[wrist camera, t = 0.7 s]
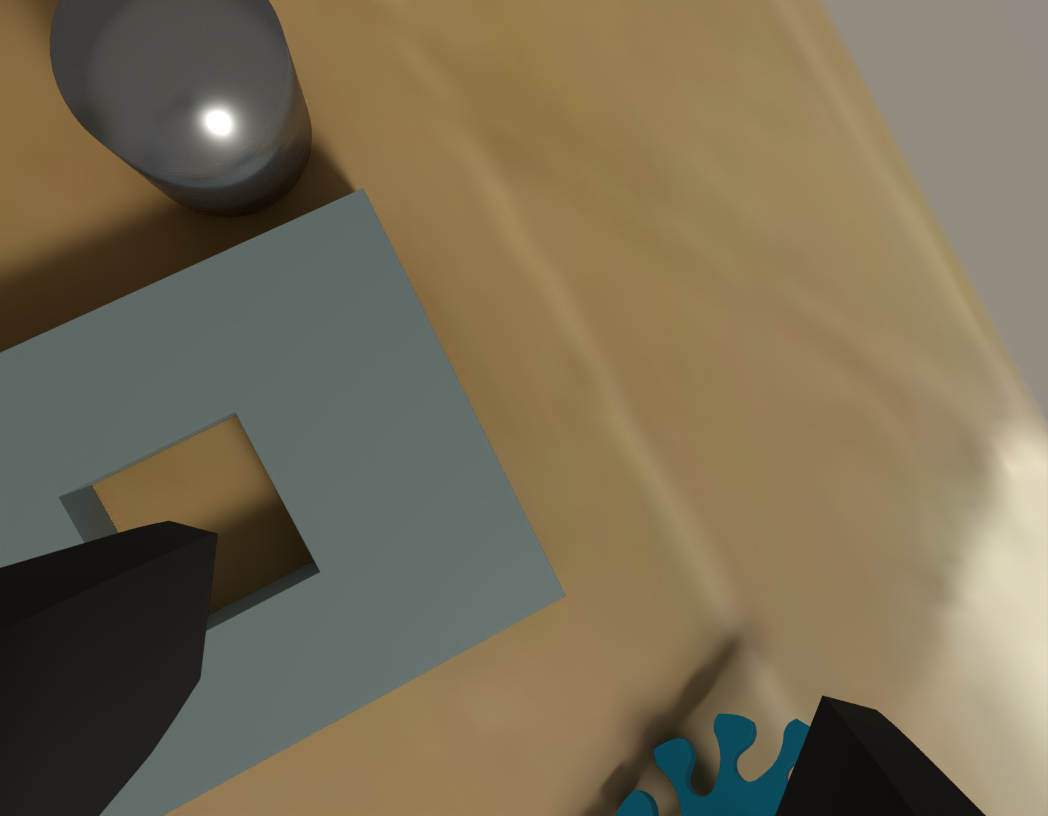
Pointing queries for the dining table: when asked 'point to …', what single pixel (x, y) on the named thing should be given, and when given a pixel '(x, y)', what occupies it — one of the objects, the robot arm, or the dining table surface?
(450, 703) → the dining table surface
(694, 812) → the teal spiky virus toy
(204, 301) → the socket plate
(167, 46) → the gunmetal plug
